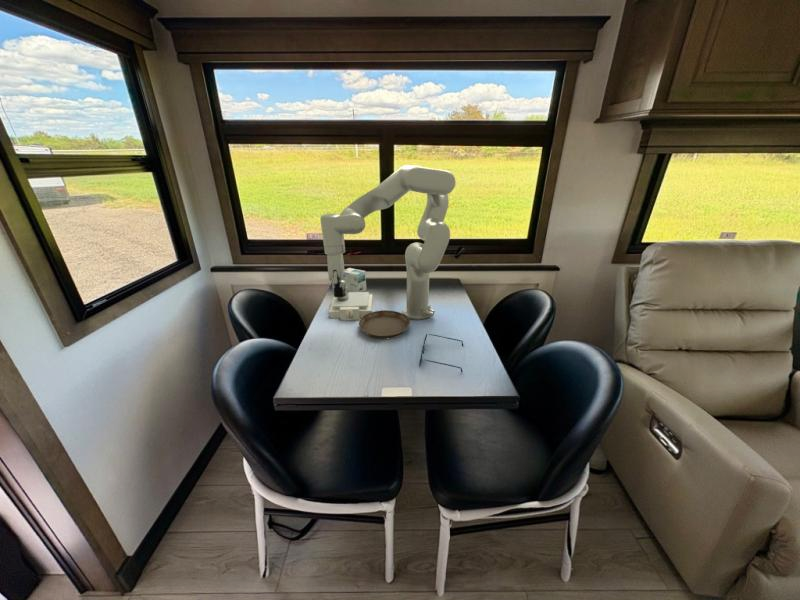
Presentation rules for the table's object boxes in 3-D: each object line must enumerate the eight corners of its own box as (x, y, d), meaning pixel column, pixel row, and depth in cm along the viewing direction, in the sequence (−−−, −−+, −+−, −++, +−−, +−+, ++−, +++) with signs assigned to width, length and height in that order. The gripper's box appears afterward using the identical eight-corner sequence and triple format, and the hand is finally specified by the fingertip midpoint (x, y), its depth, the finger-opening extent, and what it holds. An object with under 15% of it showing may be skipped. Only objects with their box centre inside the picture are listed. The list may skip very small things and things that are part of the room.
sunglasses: (423, 342, 125) (426, 331, 123) (462, 351, 123) (465, 339, 121) (417, 370, 110) (420, 357, 108) (461, 379, 108) (465, 367, 106)
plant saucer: (404, 344, 124) (404, 337, 122) (352, 339, 127) (351, 331, 126) (413, 319, 142) (413, 312, 141) (367, 315, 146) (367, 308, 144)
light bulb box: (366, 290, 171) (365, 270, 166) (358, 294, 166) (357, 274, 161) (350, 286, 176) (349, 267, 172) (342, 290, 171) (340, 270, 166)
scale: (372, 299, 160) (372, 290, 158) (371, 319, 141) (370, 309, 139) (335, 300, 160) (334, 290, 157) (328, 320, 141) (327, 310, 139)
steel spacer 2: (351, 298, 150) (350, 286, 147) (342, 302, 146) (341, 289, 144) (343, 295, 153) (342, 283, 150) (334, 299, 149) (333, 286, 147)
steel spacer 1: (349, 294, 130) (348, 280, 127) (339, 298, 126) (337, 284, 124) (340, 291, 133) (339, 277, 130) (330, 295, 129) (328, 281, 127)
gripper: (328, 242, 129) (333, 285, 137) (320, 255, 114) (327, 303, 122) (347, 241, 129) (351, 284, 137) (342, 255, 114) (347, 302, 122)
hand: (340, 293), depth 129 cm, fingers closed on steel spacer 1, 5 cm apart
